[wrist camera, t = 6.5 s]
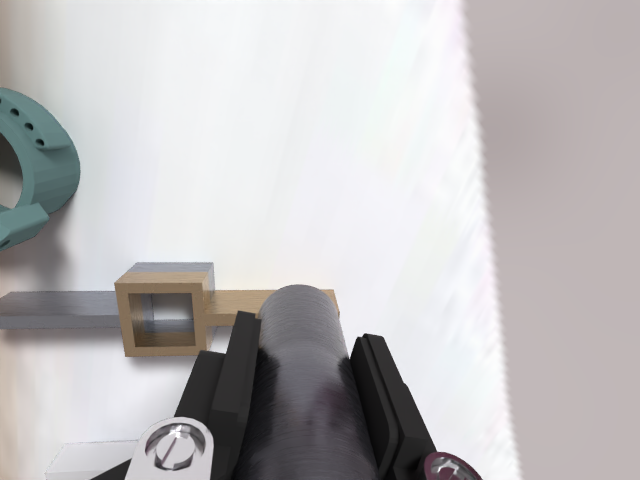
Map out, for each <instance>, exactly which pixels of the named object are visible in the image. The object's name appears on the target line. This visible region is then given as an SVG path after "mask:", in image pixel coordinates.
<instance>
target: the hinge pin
mask: <svg viewBox="0 0 640 480" xmlns="http://www.w3.org/2000/svg"><path fill="white" fill-rule="evenodd" d="M257 319H262V323H261V330H260V337H259V344H258V352H257V359H256V366H255V373H254V381H253V388H252V395H251V402H250V409H249V414H248V419H247V424H246V429H245V433H244V437H243V441H242V445H241V449H240V454H239V458H238V461H237V463H236V465H235V467H234V470H233V473H232V479H231V480H381V479H380V475H379V471H378V468H377V464H376V460H375V456H374V452H373V448H372V444H371V440H370V437H369V433H368V429H367V425H366V421H365V417H364V413H363V410H362V406H361V402H360V398H359V394H358V390H357V386H356V382H355V379H354V375H353V371H352V367H351V363H350V359H349V355H348V352H347V348H346V344H345V340H344V336H343V332H342V328H341V324H340V321H339V317H338V313H337V309H336V307H335V305H334V303H333V301H332V300H331V299H330V297H329V296H328V295H327V294H325V293H324V292H323V291H321V290H319V289H317V288H315V287H312V286H308V285H290V286H286V287H283V288H280V289H278V290H276V291H275V292H273V293H272V294H271V295H270V296H268V297H267V299H266V300H265V301H264V302H263V304H262V306H261V308H260V310H259V313H258V318H257Z"/></svg>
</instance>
